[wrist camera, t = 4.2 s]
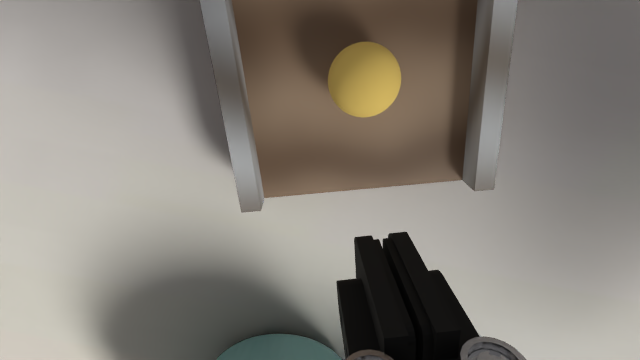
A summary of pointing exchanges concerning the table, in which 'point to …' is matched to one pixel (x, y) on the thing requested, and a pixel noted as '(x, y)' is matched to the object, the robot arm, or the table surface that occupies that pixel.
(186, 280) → the table surface
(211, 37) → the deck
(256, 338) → the bowl
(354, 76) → the ball
